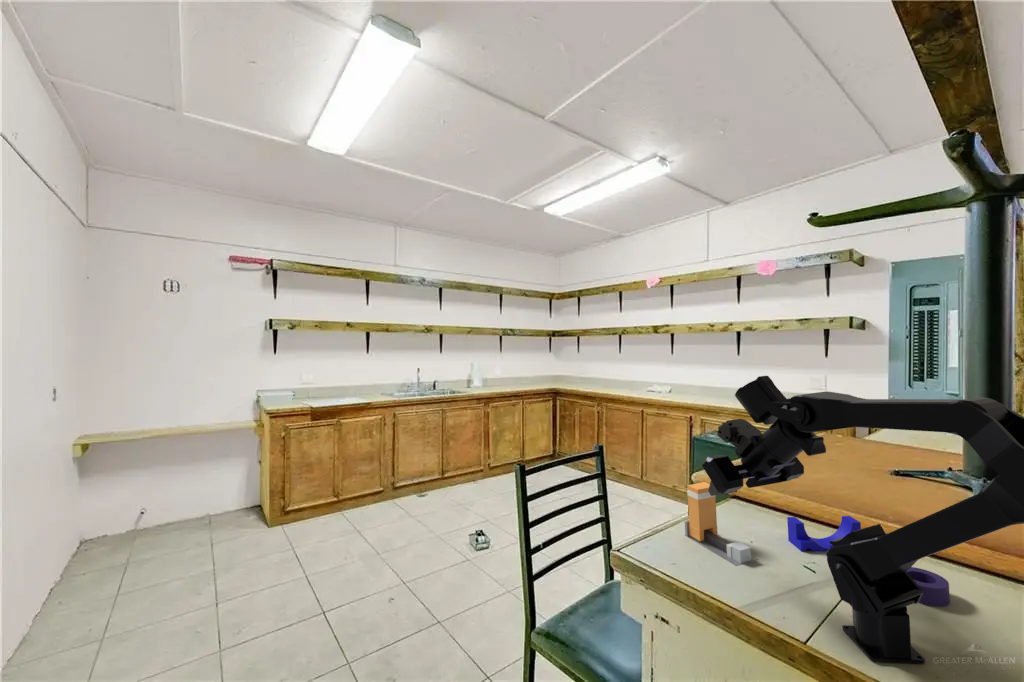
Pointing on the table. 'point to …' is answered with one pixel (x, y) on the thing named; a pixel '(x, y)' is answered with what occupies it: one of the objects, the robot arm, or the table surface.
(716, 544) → the grey pronged base
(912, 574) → the lever
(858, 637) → the robot arm
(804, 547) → the cable clip
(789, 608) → the table surface
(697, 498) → the orange block
